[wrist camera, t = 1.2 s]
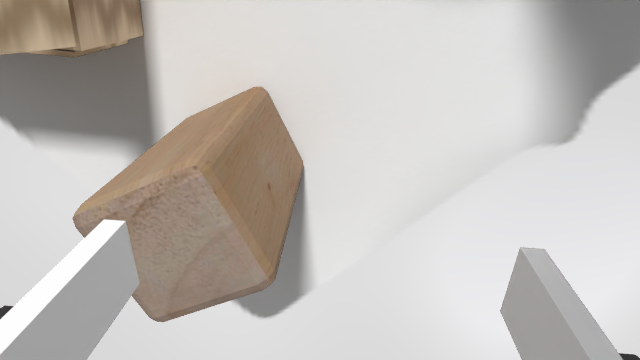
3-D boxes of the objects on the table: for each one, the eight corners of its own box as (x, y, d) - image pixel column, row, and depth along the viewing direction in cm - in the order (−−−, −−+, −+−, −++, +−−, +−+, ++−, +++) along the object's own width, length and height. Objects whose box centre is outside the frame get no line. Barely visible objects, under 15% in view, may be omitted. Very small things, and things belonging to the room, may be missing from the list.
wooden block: (307, 165, 44) (278, 291, 26) (229, 196, 46) (152, 331, 28) (265, 80, 40) (195, 159, 22) (182, 119, 42) (58, 218, 24)
